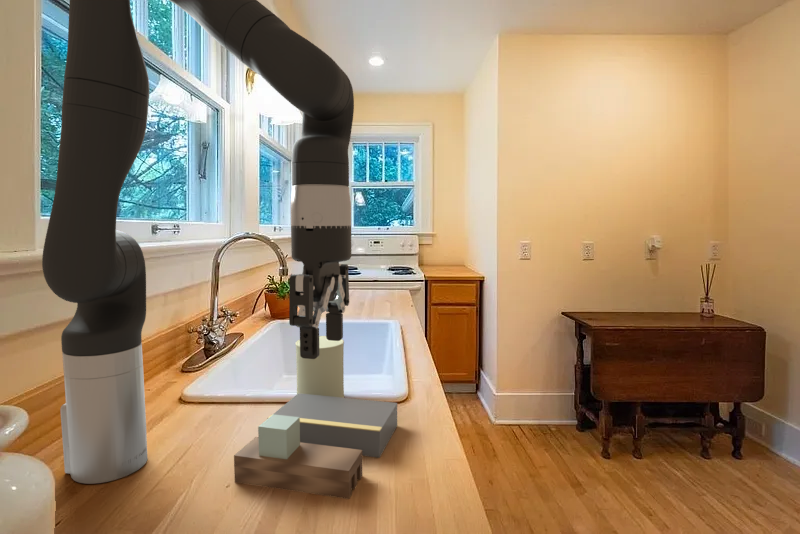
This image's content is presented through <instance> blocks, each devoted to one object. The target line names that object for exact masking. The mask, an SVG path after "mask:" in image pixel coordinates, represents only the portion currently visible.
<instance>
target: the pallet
mask: <svg viewBox="0 0 800 534" xmlns="http://www.w3.org/2000/svg"><path fill="white" fill-rule="evenodd" d="M233 464H234V465H233V469H234V471H233V472H234V473H233V474H234V483H239V484H243V485H251V486H259V487H265V488H271V489H279V490H284V491H291V492H298V493H305V494H310V495H311V494H312V495H319V496H325V497H331V498H337V499H346V500H349V499H350V498H351V496H352V495H353V493H352V489H353V490H355V489H356V488H357V486H358V480H359V481H361V479H362V477H363V455H362V450H358V449H350V448H342V447H334V446H326V445H318V444H310V443H302V442H300V446H299V447H298V448H297V449H296V450H295V451H294V452H293V453H292V454H291V455H290V456H289V457H288V459H281V458H273V457H266V456H259V439H258V436H255V437H253V438H252V439H251V440H250V441H249V442H248V443H246V444H245V446H243V447H242V448H241V449H239V450H238V451H237V452H236V453H234V455H233Z"/></svg>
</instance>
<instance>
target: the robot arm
mask: <svg viewBox="0 0 800 534" xmlns="http://www.w3.org/2000/svg"><path fill="white" fill-rule="evenodd" d="M169 2H171V3H172V4H174V5H176V6H177V7H179V8H180V9H182V11H184V13H187V14H188V16H190V17H191V18H192V19H193V20H194V21H195V22H196V23H197V24H198V25H199V26H200V27H201V28H202V29H203V30H204V31H205V32H206V33H207V34H208V35H209V36H210V37H212V39H214V40H215V42H217V43H218V44H219V45H220V46H221V47H223V48H224V49H225V50H226V51H228V52H229V53H230V54H232V56H234V57H235V58H236V59H237V60H238V61H239V62H241V63H242V64H244V66H246V67H248V69H250V70H252V71H253V72H254V73H256V74H257V75H259V76H260V77H262V78H263V80H265V82H267V84H268V85H270V87H272V88H273V89H274V90H275V91H276V92H277V93H278V94H279V95H280V96H281V97H282V98H283V99H285V100H286V101H288V103H290V104H291V105H292V106H293V107H295V108H296V109H298V110H299V111H300V112H302V113H301V114H302V122H301V123H302V124H301V132H300V133H301V134H300V136H301V137H300V138H299V139H297V140H296V141H295V142H294V144H293V145H292V152H291V185H292V187H291V189H292V190H291V197H290V232H291V233H290V236H291V237H290V239H291V240H290V243H291V244H290V245H291V246H290V247H291V250H290V252H291V253H290V254H291V259H292V260H293V261H295V262H301V263H302V264H303V267H302V273H299V274H298V273H295V274H293V273H291V274H290V275H289V295H288V296H289V297H288V299H289V302H288V304H289V305H288V306H289V308H288V311H289V312H288V313H289V315H288V316H289V321H288V324H289V325H290V326H291V327H293V326H294V327H297V328H299V340H300V356H301V357H302V358H305V359H316V358H317V357H318V356H319V336H320V327H319V326H320V321H321V317H322V313H325V312H326V313H325V336H326V338H327V339H328V340H332V341H340V340H341V339H343V338H344V316H343V315H344V313H345V311H346V307H348V306H349V305H350V284H349V283H350V282H349V281H350V280H349V279H350V278H349V265H348V264H349V263H341V262H346V261H349V260H351V258H352V201H351V196H350V195H351V194H350V187H349V186H350V163H349V161H350V160H349V147H350V146H349V145H350V142H351V137H352V136H351V135H352V129H353V122H354V121H353V120H354V113H355V112H354V111H355V104H354V103H355V97H354V89H353V85H352V82H351V80H350V78H349V77H348V74H346V72H344V70H343V69H342V68H341V67H340V66H339V65H338V64H337V63H336V61H335V60H334V59H333V58H332V57H331V56H329V54H327V53H326V52H325V51H323V50H322V49H321V48H320V47H318V46H317V45H315V44H314V43H313V42H311V41H310V40H308V39H307V38H305V37H303V35H301V34H299V33H298V32H296V31H295V30H293V29H292V28H290V26H288V25H287V23H286V22H284V21H283V20H282V19H281V18H280V17H278V16H277V15H276V14H274V12H272V11H271V10H270V9H269V8H267V7H266V6H265V5H264V4H262V2H260V1H259V0H169ZM68 10H69V11H68V30H67V31H68V32H67V49H66V50H67V51H66V59H65V60H66V62H65V69H64V78H63V79H64V80H63V89H62V102H61V123H60V124H61V127H60V139H59V148H58V158H57V171H56V182H55V189H54V196H53V199H52V200H53V202H52V206H51V211H50V215H49V221H48V225H47V229H46V233H45V234H46V235H45V238H44V245H43V250H42V257H41V258H42V260H41V261H42V262H41V263H42V264H41V266H42V273H43V277H44V280H45V282H46V284H47V286H48V288H49V289H50V290H51V291H52V292H53V294H55V295H56V297H59V299H62V300H64V301H66V302H69V303H73V304H77V305H76V310H75V312H74V316H73V317H72V318H71V320H70V322H69V323H68V324H67V325H66V326H65V328H64V329H63V331H62V332H61V339H60V341H61V352H62V353H61V354H62V367H63V368H62V369H63V380H64V393H65V396H64V397H65V403H64V404H61V406H60V421H61V435H62V436H61V437H62V449H63V466H64V473H65V474H68V475H69V474H70V477H71V479H72V480H73V481H75V482H77V483H79V484H88V485H89V484H102V483H107V482H112V481H115V480H119V479H122V478H124V477H127V476H130V475H131V474H133V473H135V472H137V471H138V470H140V469H141V468H142V467H144V465H145V464H146V463H147V462H148V441H147V438H148V437H147V418H146V416H147V415H146V413H147V412H146V398H145V380H144V379H145V376H144V361H143V359H144V357H143V343H142V341H143V340H142V332H143V327H144V325H145V322H146V317H147V268H146V261H145V260H146V259H145V256H144V252H143V249H142V248H141V245H139V243H138V241H136V239H135V238H134V237H132V236H131V234H129V233H126V232H124V231H122V230H118V229H117V216H118V215H117V214H118V213H117V212H118V206H119V205H118V204H119V198H120V194H121V191H122V188H123V185H124V182H125V181H126V178H127V176H128V174H129V172H130V171H131V169H132V166H133V165H134V163H135V161H136V159H137V156H138V155H139V153H140V150H141V148H142V145H143V143H144V139H145V136H146V132H147V131H146V130H147V124H148V123H147V122H148V113H149V104H150V103H149V102H150V80H149V79H150V78H149V73H148V70H147V65H146V61H145V58H144V55H143V51H142V48H141V44H140V40H139V38H138V34H137V31H136V27H135V24H134V21H133V17H132V16H133V15H132V9H131V0H69V7H68ZM298 308H299V310H298Z"/></svg>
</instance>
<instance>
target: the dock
mask: <svg viewBox="0 0 800 534" xmlns="http://www.w3.org/2000/svg"><path fill="white" fill-rule="evenodd" d="M273 414H275V415H284V416H293V417H300V442H302V443H310V444H318V445H326V446H334V447H342V448H350V449H358V450H362V457H364V456H365V457H371V458H381V457H382V454H383V452H384V451H385V449H386V447H387V445H388V443H389V441H390V439H391V438H392V436H393V435H394V433H395V431H396V429H397V426H398V402H394V401H393V402H391V401H381V400H372V399H371V400H370V399H360V398H350V397H345V398H342V397H331V396H321V395H311V394H301V393H298V394H297V393H296V395H295V396H294V397H292V398H291V399H290V400H288V401H287V402H286V403H285V404H284V405H282V406H281V407H279V409H277V410H276V411H275V412H274V413H273ZM273 414H270V415H269V416H268V417H267V418H266V420H267V419H268V418H269V417H270V416H272V415H273Z"/></svg>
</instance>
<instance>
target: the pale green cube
mask: <svg viewBox="0 0 800 534" xmlns="http://www.w3.org/2000/svg"><path fill="white" fill-rule="evenodd" d="M271 415H272V416H270V415H269V416H270V417H269V416H268V417H269V418H268V417H267V418H268V419H267V418H266V420H264V421H263V422H262V423H261V424H259V425H258V426H257V429H258V430H257V432H258V434H257V435H258V436H257V437H258V439H259V456H266V457H273V458H281V459H288V457H289V456H290V455H291V454H292V453H293V452H294V451H295V450H296V449H297V448H298V447H299V446H300V417H293V416H284V415H275V414H274V413H273V414H271Z"/></svg>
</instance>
